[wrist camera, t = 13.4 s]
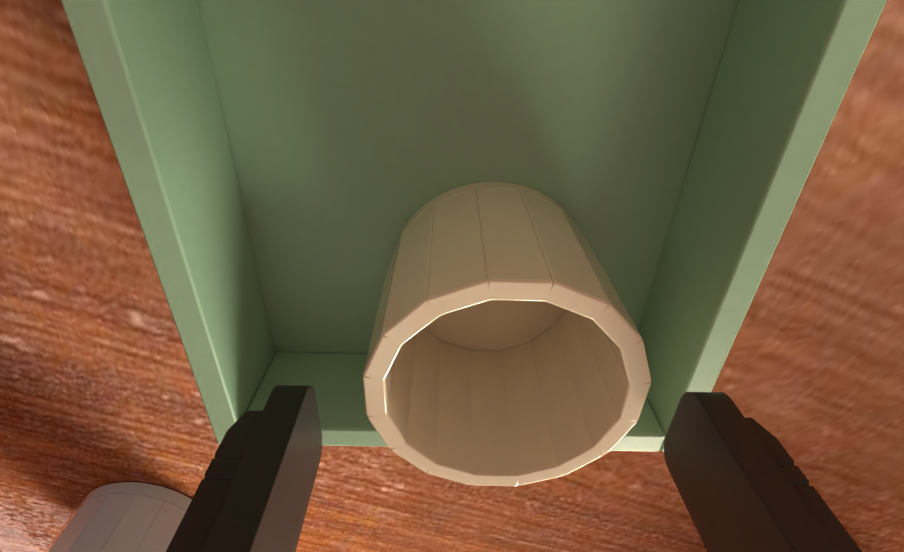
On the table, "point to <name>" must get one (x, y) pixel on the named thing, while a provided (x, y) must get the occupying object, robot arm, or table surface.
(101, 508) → the gray cup
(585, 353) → the cream cup
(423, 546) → the table surface
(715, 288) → the tub
